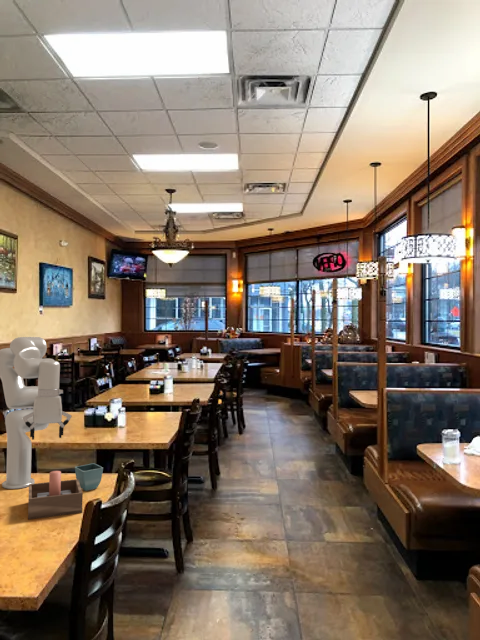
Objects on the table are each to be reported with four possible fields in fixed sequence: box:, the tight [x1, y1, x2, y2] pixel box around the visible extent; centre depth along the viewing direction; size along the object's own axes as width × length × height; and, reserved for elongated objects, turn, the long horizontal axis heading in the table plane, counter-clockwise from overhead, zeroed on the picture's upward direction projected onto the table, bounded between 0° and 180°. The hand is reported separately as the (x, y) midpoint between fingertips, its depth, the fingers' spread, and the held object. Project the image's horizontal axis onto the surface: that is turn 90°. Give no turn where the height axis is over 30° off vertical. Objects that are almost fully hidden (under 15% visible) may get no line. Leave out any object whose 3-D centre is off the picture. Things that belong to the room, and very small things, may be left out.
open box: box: [27, 478, 84, 520], centre depth 182 cm, size 18×18×7 cm
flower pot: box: [74, 463, 104, 492], centre depth 204 cm, size 9×9×9 cm
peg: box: [48, 470, 62, 496], centre depth 182 cm, size 4×4×12 cm
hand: (46, 438), depth 186 cm, fingers open, 9 cm apart
